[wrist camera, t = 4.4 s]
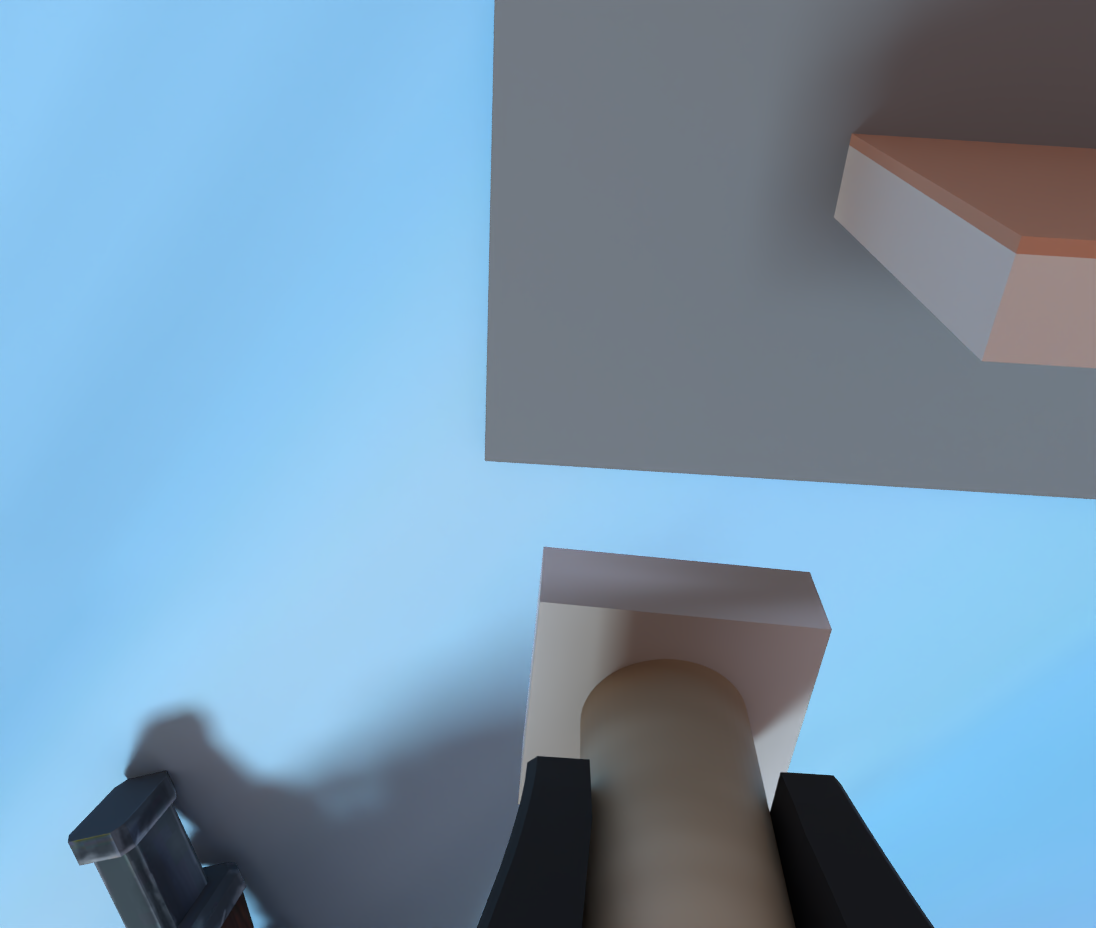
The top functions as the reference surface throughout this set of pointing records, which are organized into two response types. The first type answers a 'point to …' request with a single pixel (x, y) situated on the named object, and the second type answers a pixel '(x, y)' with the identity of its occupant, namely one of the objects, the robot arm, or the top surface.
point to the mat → (760, 241)
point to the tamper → (675, 727)
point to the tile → (984, 239)
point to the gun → (156, 861)
